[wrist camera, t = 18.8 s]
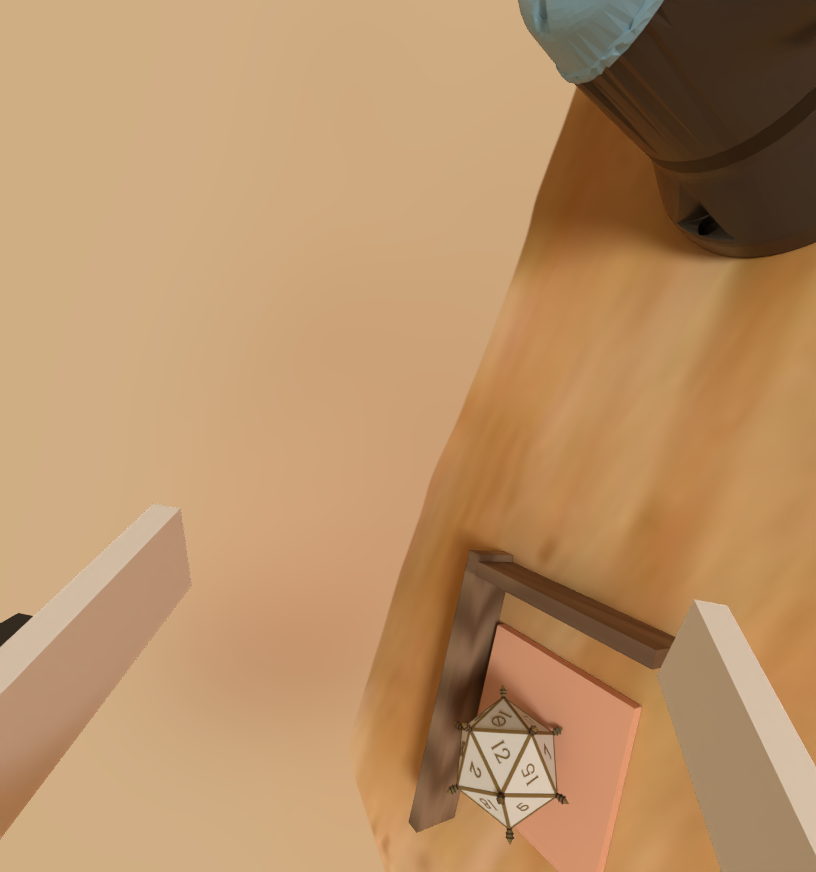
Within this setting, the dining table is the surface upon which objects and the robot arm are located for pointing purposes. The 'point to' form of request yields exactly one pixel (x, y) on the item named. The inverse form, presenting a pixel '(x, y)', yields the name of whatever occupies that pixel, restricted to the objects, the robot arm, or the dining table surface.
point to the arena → (473, 651)
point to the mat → (568, 747)
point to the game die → (507, 763)
